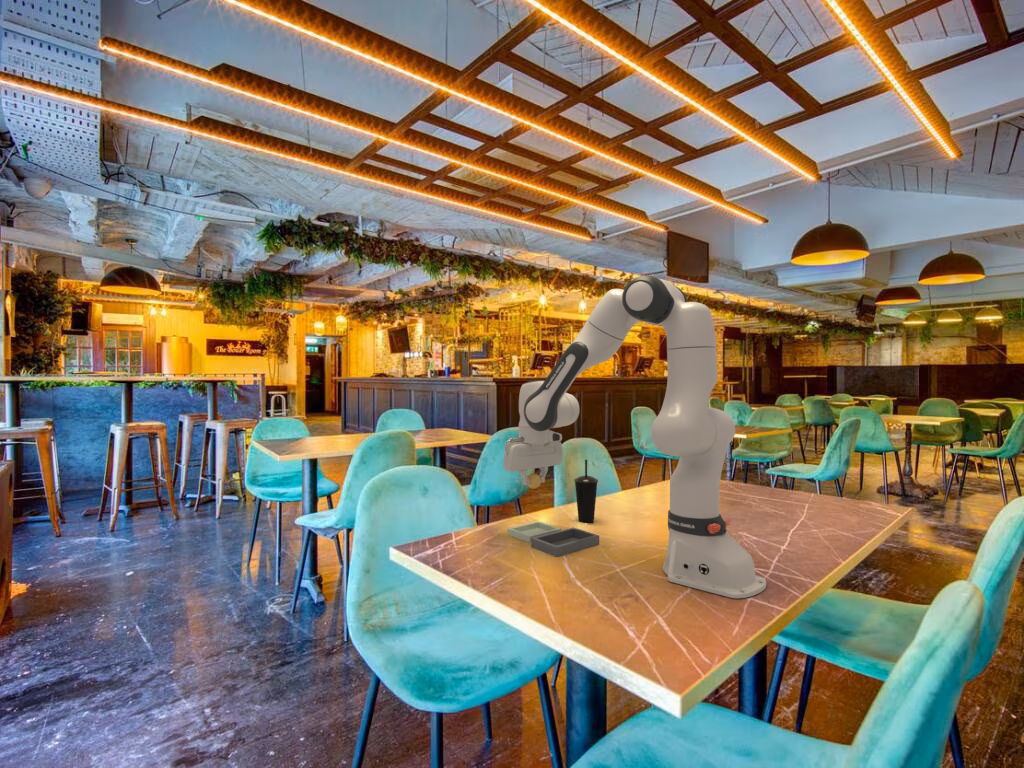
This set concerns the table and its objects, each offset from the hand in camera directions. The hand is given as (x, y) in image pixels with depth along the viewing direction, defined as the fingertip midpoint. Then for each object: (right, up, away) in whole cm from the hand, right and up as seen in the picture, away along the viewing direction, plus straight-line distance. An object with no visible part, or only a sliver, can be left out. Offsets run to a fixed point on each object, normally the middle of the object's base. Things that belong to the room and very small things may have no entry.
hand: (533, 483), depth 150 cm
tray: (0, -16, 0) cm, 16 cm away
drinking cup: (+18, -16, +15) cm, 28 cm away
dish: (+8, -16, -10) cm, 20 cm away
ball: (0, -2, 0) cm, 2 cm away
